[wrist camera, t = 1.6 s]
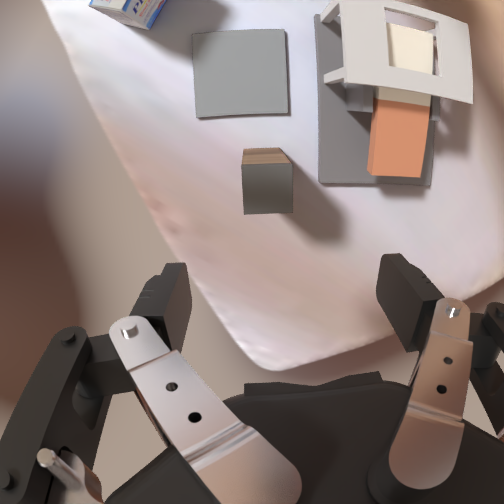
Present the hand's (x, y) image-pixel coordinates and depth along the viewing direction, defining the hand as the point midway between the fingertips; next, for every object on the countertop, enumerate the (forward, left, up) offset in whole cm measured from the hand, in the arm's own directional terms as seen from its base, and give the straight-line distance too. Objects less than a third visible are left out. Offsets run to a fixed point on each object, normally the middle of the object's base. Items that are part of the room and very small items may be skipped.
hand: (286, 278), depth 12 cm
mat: (-11, -2, -25) cm, 27 cm away
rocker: (-8, +14, -19) cm, 25 cm away
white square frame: (-8, +14, -25) cm, 29 cm away
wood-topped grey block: (0, 0, -25) cm, 25 cm away
